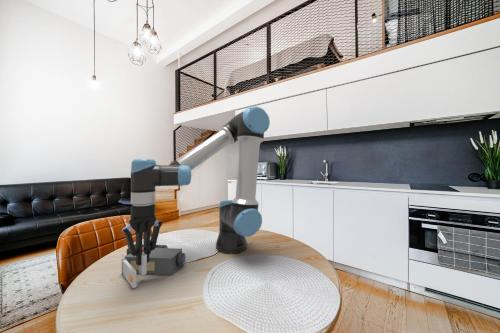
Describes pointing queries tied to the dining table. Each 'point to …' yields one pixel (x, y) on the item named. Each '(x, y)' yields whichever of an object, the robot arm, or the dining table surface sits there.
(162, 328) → the dining table surface
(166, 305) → the dining table surface
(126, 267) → the side door
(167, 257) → the camera body
